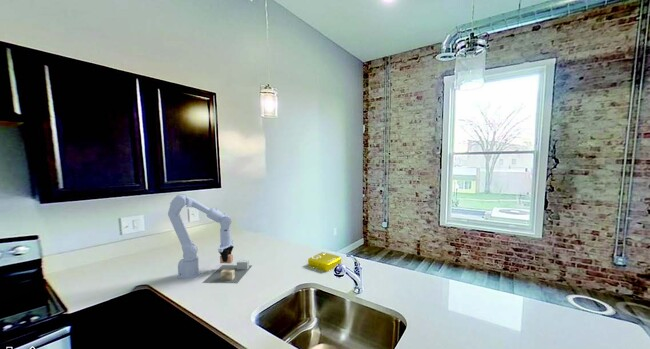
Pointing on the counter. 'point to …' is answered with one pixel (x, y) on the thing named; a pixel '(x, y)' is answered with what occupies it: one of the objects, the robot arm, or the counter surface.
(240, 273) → the charcoal mat
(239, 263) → the grey brick
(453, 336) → the counter surface
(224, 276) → the maple brick
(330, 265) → the element tile
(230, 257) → the terracotta brick
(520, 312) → the counter surface
